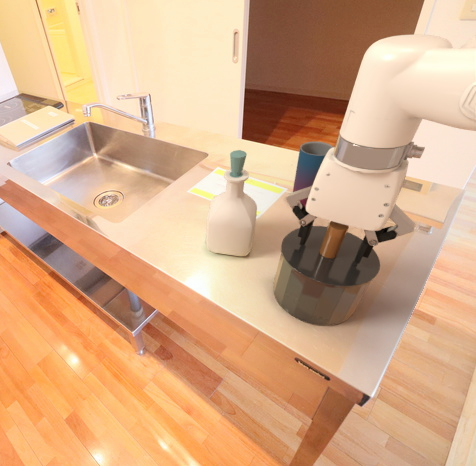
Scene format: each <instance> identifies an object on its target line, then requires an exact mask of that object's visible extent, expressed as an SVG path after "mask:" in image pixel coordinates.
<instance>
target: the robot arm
mask: <svg viewBox="0 0 476 466" xmlns="http://www.w3.org/2000/svg"><path fill="white" fill-rule="evenodd" d="M423 120H425V121H429V122H432V123H433V122H434V123H437V124H440V125H443V126H448V127H451V128H454V129H460V130H465V131H471V132H476V35H474V36H473V37H472V38H470V39H469V40H467V41H466V42H465V43H464V44H463V45H462V46H460V48H459V47H458V48H456V47H455V48H454V47H453V44H452V42H451V41H450V40H449V39H447V38H444V37H441V36H438V35H434V34H433V35H431V34H400V35H392V36H387V37H385V38H381V39H379V40H377V41H375V42H373V43H372V44H371V45H370V46H369V47H368V48H367V49H366V50H365V52H364V55H363V57H362V59H361V62H360V66H359V68H358V71H357V75H356V79H355V82H354V84H353V88H352V91H351V95H350V97H349V101H348V104H347V108H346V111H345V114H344V116H343V120H342V123H341V126H340V129H339V131H338V135H337V138H336V142H335V144H334V146H333V148H331V149H329V151H328V152H327V154H326V156H325V158H324V160H323V162H322V164H321V166H320V168H319V171H318V173H317V175H316V178H315V180H314V183H313V185H312V186H310V187H307V188H304V189H301V190H298V191H295V192H293V191H292V192H289V193H288V194H287V196H286V198H285V200H286V202H287V204H288V206H289V207H290V208H291V211H292V213H293V214H294V216H295V217H296V218H297V219H298V223H299V225H300V226H299V228H300V230H299V233H298V237H301V241H300V244H299V245H302V246H303V245H305V243H306V241H307V239H308V237H309V235H310V232H311V229H312V226H314V222H315V220H316V219H317V218H318V219H322V220H325V221H329V222H331V221H333V222H337V223H340V224H344V225H348V226H349V227H352V228H356V229H360V230H363V232H364V237H363V239H362V240H363V241H362V243H361V245H360V247H359V249H358V252H357V255H356V257H355V260H354V261H355V263H360V261H361V259H362V257H366V258H368V257H369V255H370V253H371V251H372V249H373V250H374V247H376V246H378V245H379V244H380V243H384V242H389V241H392V240H395V239H396V238H397V237H402V236H404V235H407V234H410V233H412V232H414V231H415V227H416V224H415V222H414V221H413V220H412V219H411V218H410V217H409V216H408V215H407V214H406V213H405V212H404V211H403V210H402V209H401V208H400V207H399V206H398V205H397V204H396V203H397V201H398V198H399V195H400V193H401V191H402V189H403V186H404V182H405V180H406V176H407V173H408V168H409V160H408V159H413V158H414V159H421V157H422V156H423V153H424V151H425V148H426V147H425V146H418V144H415V141H413V140H414V138H415V135H416V133H417V131H418V129H419V127H420V125H421V123H422V121H423ZM306 198H308V200H307V203H306V208H305V206H304V205H303V204H302V203H300V200H302V199H306ZM389 219H390V220H391V221H392V222H393V223H394V224H395V225H390V226H386V224H387V223H388V220H389ZM385 226H386V227H385Z"/></svg>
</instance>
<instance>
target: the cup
mask: <svg viewBox="0 0 476 466" xmlns="http://www.w3.org/2000/svg"><path fill="white" fill-rule="evenodd" d="M333 147H334V146H333V145H332V144H329V143H327V142H325V141H324V142H323V141H307V142H304V143H302V144H301V145H300V146H299V152H298V157H297V165H296V169H295V174H294V175H295V176H294V182H293V189H292V192H295V191H298V190H301V189H304V188H307V187H310V186H312V185H313V183H314V180H315V178H316V175H317V173H318V171H319V168H320V166H321V164H322V162H323V160H324V158H325V156H326V154H327V152H328V151H329V149H331V148H333ZM307 200H308V198H306V199H302V200H300V203H302V204H303V205H304V206H305V208H306V203H307Z"/></svg>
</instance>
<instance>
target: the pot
mask: <svg viewBox="0 0 476 466" xmlns="http://www.w3.org/2000/svg"><path fill="white" fill-rule="evenodd" d="M278 260H279V261H278V264H277V268H276V272H275V276H274V280H273V282H272V283H273V284H272V285H273V289H272V290H273V295H274V298H275V300H276V302H277V303H278V305H279V306H280V307H281V308H282V309H283V311H285V312H286V313H287V314H288V315H290V316H292V318H295V319H297V320H299V321H301V322H303V323H306V324H309V325H312V326H313V325H314V326H320V327H330V326H336V325H340V324H342V323H345V322H346V321H348V320H349V318H351V316H353V315H354V313H355V311H356V309H357V308H358V306H359V304H360V302H361V300H362V298H363V296H364V295H365V293H366V291H367V289H369V286H370V284H371V282H369V283H368V284H366V285H363V286H360V287H356V288H344V289H342V288H332V287H327V286H323V285H319V284H316V283H314V282H311V281H309V280H307V279H305V278H303V277H301V276H300V275H298V274H297V273H295V272H294V271H293V270H292V269H291V268H290V267H289V266H288V265H287V264H286V262H285V261H284V259H283V257H282V254H281V253H280V257H279V259H278Z"/></svg>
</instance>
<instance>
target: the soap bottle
mask: <svg viewBox="0 0 476 466" xmlns="http://www.w3.org/2000/svg"><path fill="white" fill-rule="evenodd" d="M247 155H248V153H247V152H246V151H245V150H241V149H237V150H233V151H231V152H230V153H229V156H230V168H229V169H227V170H225V171H224V173H223V179H224V180H225V181H226V185H225V190H224V191H222V192H221V193H219V194H218V195H215V197H213V198H212V200H211V202H210V203H209V210H208V213H207V217H206V231H205V232H206V233H205V245H206V248H207V250H208V251H209V252H211V253H215V254H221V255H228V256H229V255H230V256H236V257H246V256H248V254H250V252H251V251H252V248H253V242H254V236H255V229H256V222H257V212H258V205H257V203H256V201H255V200H254V199H253V198H252V197H251V196H250V195H248V194H247V193H245V192H244V188H245V182H246V181H248V180H249V177H250V173H249V172H248V171H247V170H246V169H244V166H245V162H246V159H247Z"/></svg>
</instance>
